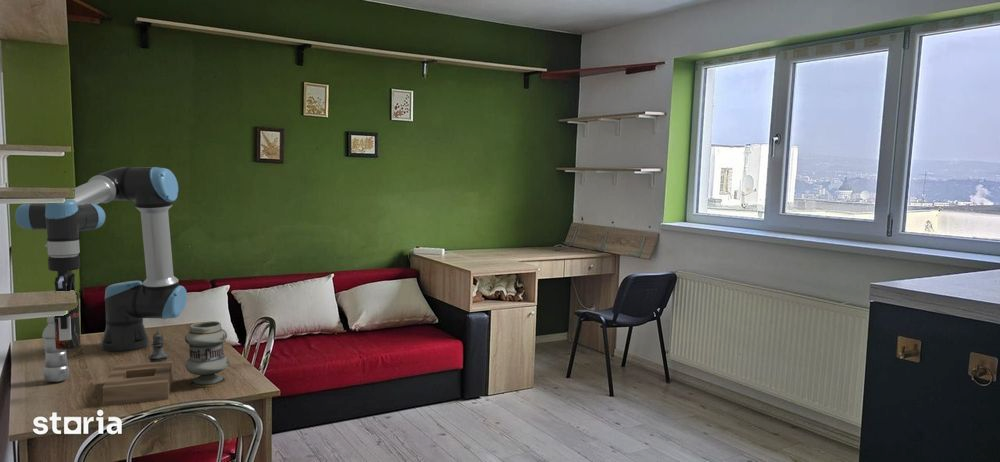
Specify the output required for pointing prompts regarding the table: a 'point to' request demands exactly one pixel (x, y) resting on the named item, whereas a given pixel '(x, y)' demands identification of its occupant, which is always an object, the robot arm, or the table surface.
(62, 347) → the deodorant
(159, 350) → the salt shaker
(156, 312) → the robot arm
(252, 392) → the table surface
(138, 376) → the holder block
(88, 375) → the table surface
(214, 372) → the apothecary jar
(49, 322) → the plastic bottle
